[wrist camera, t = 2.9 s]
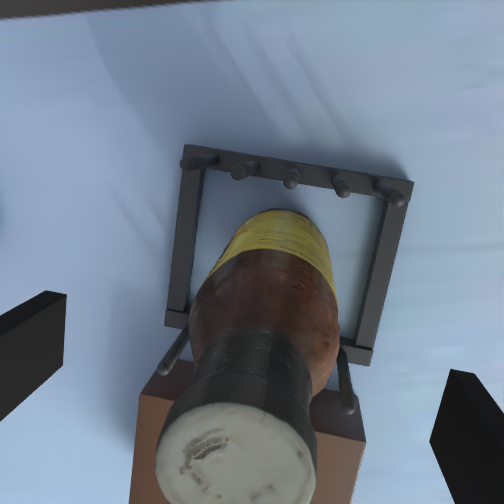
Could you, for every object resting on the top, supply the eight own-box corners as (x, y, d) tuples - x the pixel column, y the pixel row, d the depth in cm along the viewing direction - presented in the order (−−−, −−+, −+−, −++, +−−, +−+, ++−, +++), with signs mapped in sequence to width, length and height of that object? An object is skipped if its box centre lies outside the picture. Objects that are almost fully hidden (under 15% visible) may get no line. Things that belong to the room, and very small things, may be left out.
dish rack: (410, 180, 28) (447, 194, 20) (367, 358, 31) (385, 429, 23) (189, 144, 29) (145, 145, 21) (169, 319, 32) (124, 374, 24)
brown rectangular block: (358, 396, 31) (366, 442, 27) (330, 512, 34) (333, 573, 29) (164, 356, 33) (139, 393, 28) (151, 471, 35) (126, 523, 30)
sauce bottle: (227, 211, 29) (72, 339, 10) (323, 200, 29) (348, 319, 9) (241, 305, 31) (127, 571, 12) (333, 297, 30) (372, 573, 11)
